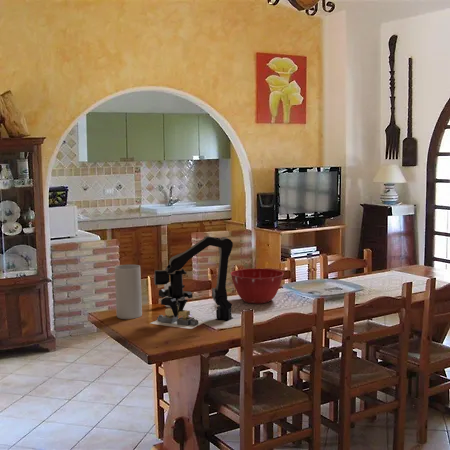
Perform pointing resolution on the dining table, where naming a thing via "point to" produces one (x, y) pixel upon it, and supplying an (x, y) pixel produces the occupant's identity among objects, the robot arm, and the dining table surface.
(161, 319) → the chain ends
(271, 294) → the mixing bowl
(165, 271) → the robot arm
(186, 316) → the master link
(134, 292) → the cylinder vase
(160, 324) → the mat
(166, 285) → the mug
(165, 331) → the dining table surface
